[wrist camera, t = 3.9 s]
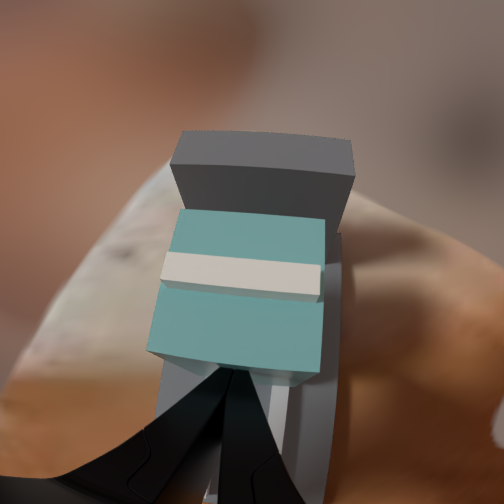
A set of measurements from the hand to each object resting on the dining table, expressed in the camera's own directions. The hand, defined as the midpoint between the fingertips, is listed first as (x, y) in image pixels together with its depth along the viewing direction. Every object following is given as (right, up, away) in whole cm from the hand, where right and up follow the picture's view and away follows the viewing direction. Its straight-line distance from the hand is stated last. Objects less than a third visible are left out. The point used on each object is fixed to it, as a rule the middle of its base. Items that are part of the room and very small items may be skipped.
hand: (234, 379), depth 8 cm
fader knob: (+1, -1, +7) cm, 7 cm away
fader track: (0, -2, +8) cm, 8 cm away
